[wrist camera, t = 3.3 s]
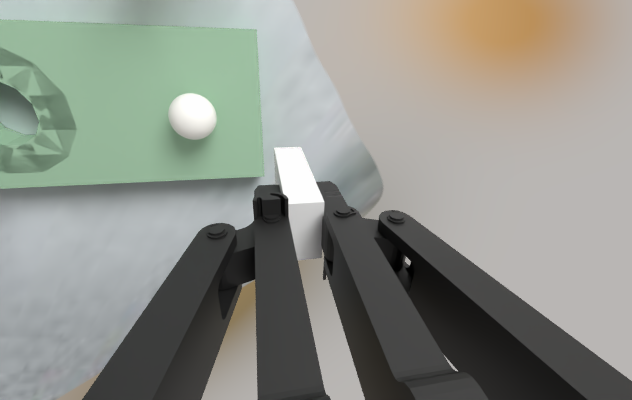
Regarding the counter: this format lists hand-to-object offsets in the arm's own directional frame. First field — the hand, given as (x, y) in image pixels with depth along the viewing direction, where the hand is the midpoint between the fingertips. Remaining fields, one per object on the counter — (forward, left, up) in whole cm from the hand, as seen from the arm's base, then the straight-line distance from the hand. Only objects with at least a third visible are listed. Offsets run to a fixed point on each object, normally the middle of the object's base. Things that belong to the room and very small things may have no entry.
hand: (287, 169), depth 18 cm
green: (0, -15, -18) cm, 23 cm away
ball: (0, -7, -13) cm, 14 cm away
